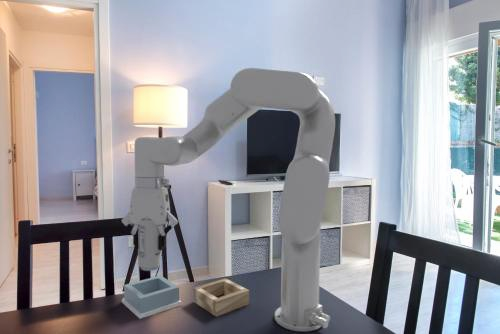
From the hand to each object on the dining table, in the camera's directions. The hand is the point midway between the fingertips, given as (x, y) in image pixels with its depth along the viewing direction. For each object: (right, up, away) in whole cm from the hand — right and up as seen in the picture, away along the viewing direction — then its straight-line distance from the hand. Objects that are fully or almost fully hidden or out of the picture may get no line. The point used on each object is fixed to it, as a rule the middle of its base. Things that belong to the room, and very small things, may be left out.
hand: (149, 247), depth 98 cm
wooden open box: (+19, -16, +2) cm, 25 cm away
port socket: (0, -16, +1) cm, 16 cm away
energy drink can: (0, -6, +1) cm, 6 cm away
